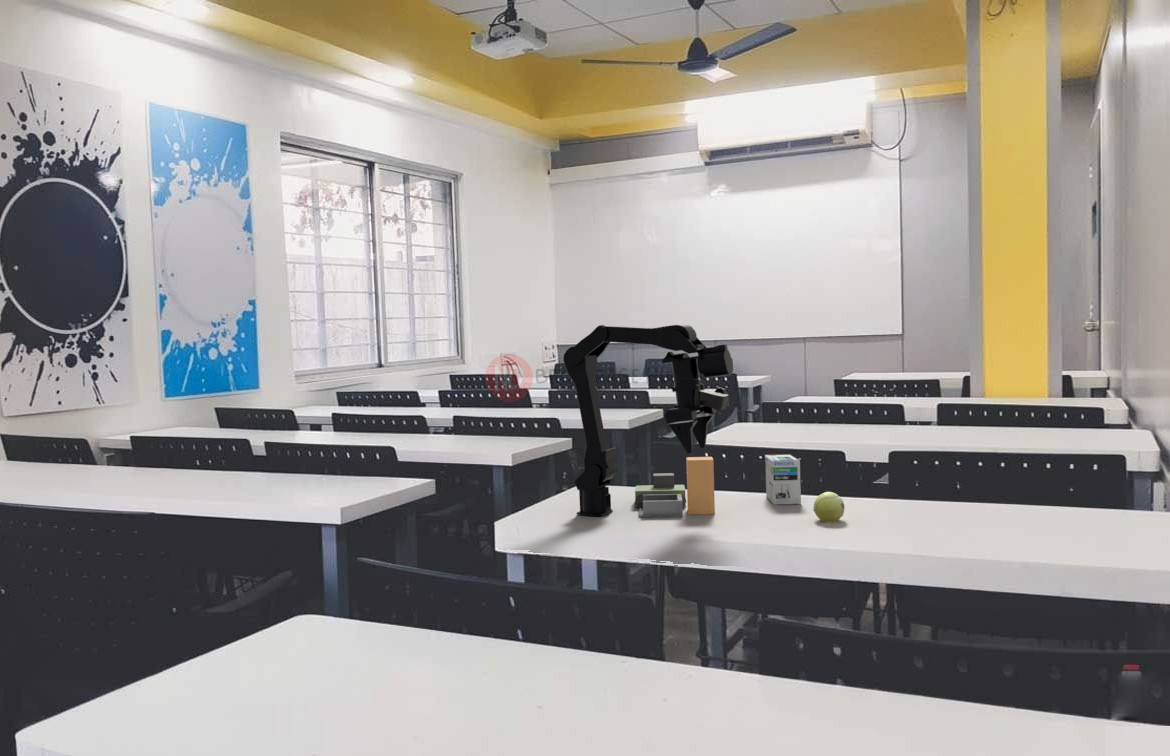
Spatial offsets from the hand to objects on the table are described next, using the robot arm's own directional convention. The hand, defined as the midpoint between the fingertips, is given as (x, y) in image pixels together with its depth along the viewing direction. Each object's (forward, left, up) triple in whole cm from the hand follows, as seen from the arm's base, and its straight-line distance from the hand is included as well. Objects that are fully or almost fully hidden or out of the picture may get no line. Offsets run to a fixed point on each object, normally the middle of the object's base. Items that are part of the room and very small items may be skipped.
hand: (696, 450), depth 201 cm
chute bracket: (-11, +5, -16) cm, 20 cm away
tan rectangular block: (-3, +9, -16) cm, 18 cm away
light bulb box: (+11, +28, -16) cm, 34 cm away
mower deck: (-16, +14, -16) cm, 26 cm away
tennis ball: (+27, +9, -16) cm, 32 cm away
